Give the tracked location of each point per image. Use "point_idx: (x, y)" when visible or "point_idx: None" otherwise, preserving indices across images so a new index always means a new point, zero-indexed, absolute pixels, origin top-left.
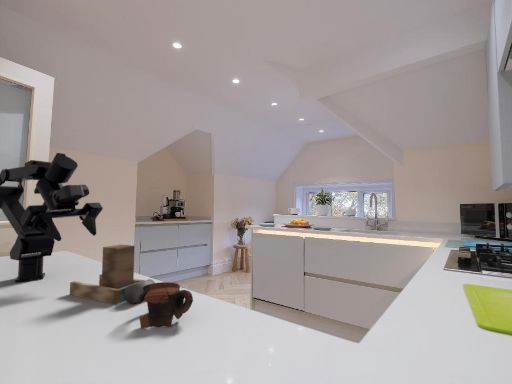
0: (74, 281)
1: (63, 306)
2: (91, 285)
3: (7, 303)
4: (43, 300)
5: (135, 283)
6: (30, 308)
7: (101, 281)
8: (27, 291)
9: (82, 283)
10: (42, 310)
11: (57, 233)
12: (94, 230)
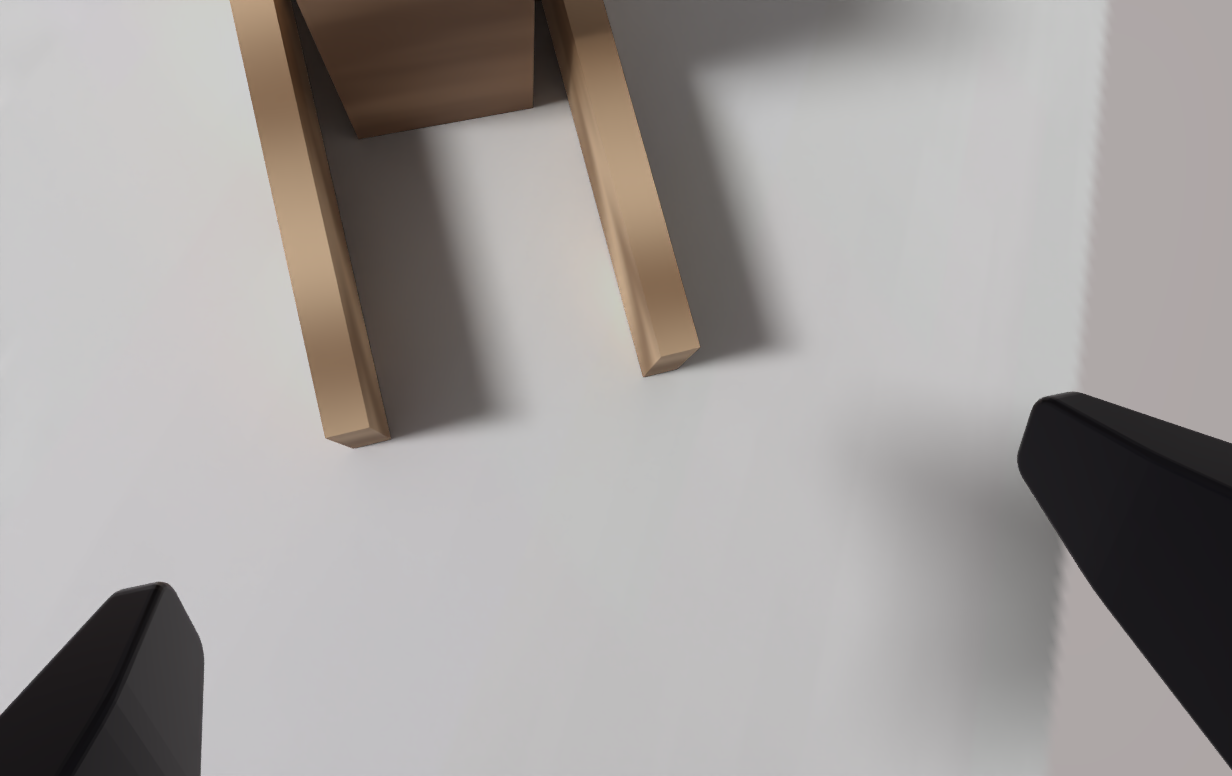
0: (663, 341)
1: (797, 120)
2: (612, 79)
3: None
4: (858, 375)
5: None
6: (957, 257)
7: (376, 400)
8: (893, 773)
9: (640, 207)
10: (911, 151)
11: (1207, 443)
12: (121, 644)
